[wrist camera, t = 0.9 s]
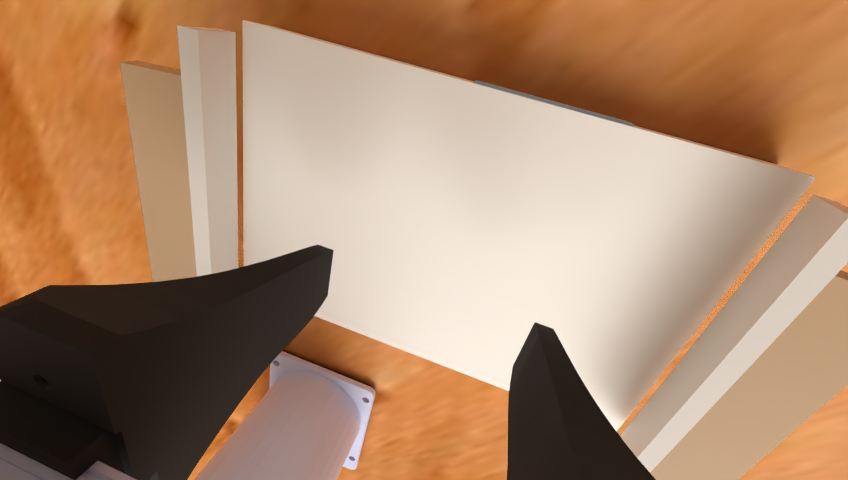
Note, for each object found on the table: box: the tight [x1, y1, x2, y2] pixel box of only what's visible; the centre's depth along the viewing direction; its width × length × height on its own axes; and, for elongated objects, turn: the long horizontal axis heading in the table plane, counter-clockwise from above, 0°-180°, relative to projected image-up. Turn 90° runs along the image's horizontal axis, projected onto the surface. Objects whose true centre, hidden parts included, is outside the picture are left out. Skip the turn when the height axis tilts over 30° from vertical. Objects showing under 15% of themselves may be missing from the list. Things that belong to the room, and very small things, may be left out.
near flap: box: [621, 195, 848, 480], centre depth 13 cm, size 13×4×2 cm
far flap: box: [120, 25, 238, 282], centre depth 16 cm, size 13×4×2 cm
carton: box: [243, 20, 816, 432], centre depth 17 cm, size 14×22×2 cm, turn 76°
